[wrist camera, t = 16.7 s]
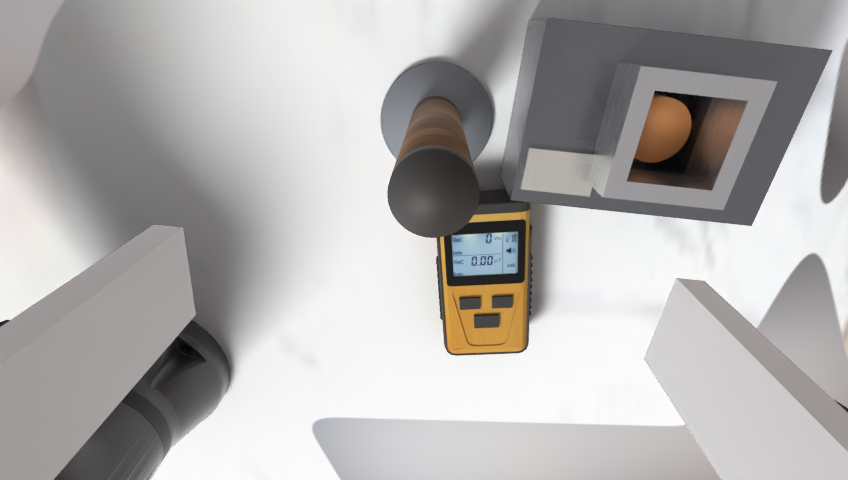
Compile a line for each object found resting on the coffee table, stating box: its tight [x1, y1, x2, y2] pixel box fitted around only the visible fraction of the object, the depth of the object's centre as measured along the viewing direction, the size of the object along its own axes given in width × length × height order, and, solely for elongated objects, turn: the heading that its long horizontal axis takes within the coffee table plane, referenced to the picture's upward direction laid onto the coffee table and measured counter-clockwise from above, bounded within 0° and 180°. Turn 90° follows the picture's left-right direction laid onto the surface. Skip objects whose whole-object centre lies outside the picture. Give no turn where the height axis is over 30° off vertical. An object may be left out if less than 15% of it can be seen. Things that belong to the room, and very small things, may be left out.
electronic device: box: [436, 190, 533, 355], centre depth 40 cm, size 8×16×3 cm, turn 4°
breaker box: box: [500, 18, 832, 226], centre depth 31 cm, size 18×12×10 cm, turn 84°
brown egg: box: [634, 93, 691, 163], centre depth 32 cm, size 4×4×5 cm
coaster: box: [381, 62, 492, 162], centre depth 36 cm, size 9×9×1 cm
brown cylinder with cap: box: [388, 96, 479, 238], centre depth 27 cm, size 4×4×18 cm
